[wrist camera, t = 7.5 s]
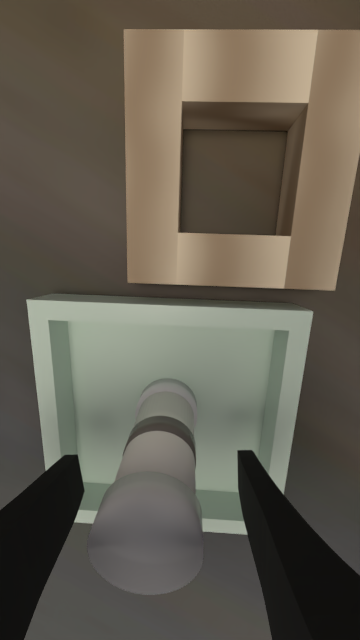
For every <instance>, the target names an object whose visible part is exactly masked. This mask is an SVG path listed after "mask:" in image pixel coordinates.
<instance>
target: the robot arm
mask: <svg viewBox="0 0 360 640" xmlns="http://www.w3.org/2000/svg"><path fill="white" fill-rule="evenodd" d="M237 459H238V491H239V497H240V503H241V509H242V515H243V519H244V523H245V527H246V531H247V534H248V538H249V542H250V546H251V549H252V553H253V557H254V561H255V565H256V568H257V572H258V576H259V580H260V583H261V587H262V592H263V596H264V600H265V605H266V610H267V615H268V620H269V625H270V630H271V635H272V640H360V576H359V575H358V574H357V573H356V572H355V571H354V570H353V569H352V568H351V567H350V566H349V565H348V564H346V563H345V562H344V561H343V560H342V559H341V558H340V557H339V556H338V555H337V554H336V553H335V552H334V551H333V550H332V549H331V548H330V547H329V546H328V545H327V544H326V543H325V542H324V541H323V539H322V538H321V537H320V536H319V535H318V534H317V533H316V532H315V531H314V530H313V529H312V528H311V527H310V525H309V524H308V523H307V522H306V521H305V520H304V519H303V518H302V516H301V515H300V514H299V513H298V512H297V510H296V509H295V508H294V507H293V506H292V505H291V503H290V502H289V501H288V500H287V498H286V497H285V496H284V494H283V493H282V492H281V491H280V489H279V488H278V487H277V485H276V484H275V483H274V481H273V480H272V479H271V477H270V476H269V474H268V473H267V471H266V470H265V469H264V467H263V466H262V464H261V463H260V461H259V460H258V458H257V456H256V455H255V453H254V452H253V451H252V450H237ZM84 492H85V490H84V485H83V480H82V474H81V469H80V464H79V459H78V454H73V455H64V456H63V457H61V458H60V459H59V460H58V461H57V462H56V463H54V464H53V465H52V466H51V467H50V468H49V469H48V470H47V471H45V472H44V473H43V474H42V475H41V476H40V477H39V478H38V479H37V480H35V481H34V482H33V483H32V484H31V485H30V486H29V487H27V488H26V489H25V490H24V491H23V492H22V493H21V494H19V495H18V496H17V497H16V498H15V499H13V500H12V501H11V502H10V503H9V504H7V505H6V506H5V507H4V508H3V509H1V510H0V640H24V638H25V635H26V632H27V630H28V627H29V624H30V622H31V619H32V616H33V614H34V611H35V608H36V606H37V603H38V601H39V598H40V596H41V594H42V591H43V589H44V586H45V584H46V582H47V580H48V578H49V575H50V573H51V571H52V569H53V567H54V565H55V562H56V560H57V558H58V556H59V554H60V552H61V549H62V547H63V545H64V543H65V541H66V538H67V536H68V534H69V532H70V530H71V527H72V525H73V523H74V521H75V518H76V516H77V513H78V510H79V507H80V504H81V501H82V498H83V495H84Z"/></svg>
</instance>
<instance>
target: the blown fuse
mask: <svg viewBox="0 0 360 640" xmlns="http://www.w3.org/2000/svg"><path fill="white" fill-rule="evenodd" d="M135 418H136V420H135V423H134V426H133V429H132V430H131V432H130V435H129V437H128V440H127V443H126V446H125V449H124V452H123V458H122V461H121V464H120V467H119V469H118V472H117V475H116V478H115V481H114V483H113V484H111V486H110V487H109V488H108V489H107V490H106V492H105V494H104V496H103V498H102V501H101V504H100V506H99V509H98V512H97V514H96V517H95V520H94V522H93V525H92V528H91V531H90V533H89V536H88V540H87V552H88V556H89V559H90V561H91V564H92V565H93V567H94V568H95V570H96V571H97V572H98V573H99V574H100V575H101V576H102V577H103V578H104V579H105V580H107V581H108V582H109V583H111V584H113V585H114V586H116V587H118V588H120V589H123V590H126V591H128V592H132V593H137V594H145V595H158V594H165V593H169V592H172V591H175V590H178V589H180V588H182V587H184V586H185V585H187V584H188V583H189V582H191V581H192V580H193V579H194V578H195V577H196V575H197V574H198V572H199V571H200V569H201V566H202V564H203V559H204V547H203V526H202V510H201V506H200V502H199V500H198V498H197V496H196V484H195V468H196V444H195V439H194V428H195V426H196V423H197V401H196V397H195V395H194V393H193V391H192V390H191V389H190V388H189V387H188V386H187V385H186V384H185V383H183V382H181V381H179V380H176V379H170V378H164V379H158V380H156V381H153V382H152V383H150V384H149V385H148V386H146V388H145V389H144V390H143V392H142V394H141V396H140V399H139V401H138V404H137V407H136V411H135Z"/></svg>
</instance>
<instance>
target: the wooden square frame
mask: <svg viewBox="0 0 360 640" xmlns="http://www.w3.org/2000/svg"><path fill="white" fill-rule="evenodd" d="M124 78H125V143H126V207H127V272H128V283H149V284H175V285H202V286H228V287H255V288H281V289H308V290H334V291H335V287H336V282H337V276H338V270H339V265H340V259H341V254H342V248H343V243H344V237H345V232H346V226H347V220H348V215H349V209H350V204H351V198H352V193H353V187H354V182H355V176H356V170H357V165H358V159H359V154H360V30H182V29H124ZM183 129H201V130H262V131H288V134H287V142H286V150H285V159H284V167H283V176H282V184H281V193H280V201H279V210H278V218H277V227H276V235H275V236H267V235H235V234H202V233H180V219H181V188H182V157H183Z"/></svg>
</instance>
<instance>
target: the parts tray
mask: <svg viewBox="0 0 360 640" xmlns="http://www.w3.org/2000/svg"><path fill="white" fill-rule="evenodd" d="M27 307H28V316H29V325H30V334H31V343H32V352H33V361H34V370H35V379H36V388H37V397H38V406H39V414H40V423H41V432H42V441H43V450H44V459H45V468H46V471H47V470H48V469H49V468H50V467H51V466H52V465H53V464H54V463H56V462H57V461H58V460H59V459H60V458H61V457H63V456H64V455H73V454H78V459H79V464H80V469H81V474H82V480H83V485H84V490H85V492H84V495H83V498H82V501H81V504H80V507H79V510H78V513H77V516H76V518H75V521H74V522H79V523H93V522H94V520H95V517H96V514H97V512H98V509H99V506H100V504H101V501H102V498H103V496H104V494H105V492H106V490H107V489H108V488H109V487H110V486H111V484H113V483H114V481H115V478H116V475H117V472H118V469H119V467H120V464H121V461H122V458H123V452H124V449H125V446H126V443H127V440H128V437H129V435H130V432H131V430H132V429H133V426H134V423H135V420H136V418H135V411H136V407H137V404H138V401H139V399H140V396H141V394H142V392H143V390H144V389H145V388H146V386H148V385H149V384H150V383H152V382H153V381H156V380H158V379H164V378H170V379H176V380H179V381H181V382H183V383H185V384H186V385H187V386H188V387H189V388H190V389H191V390H192V391H193V393H194V395H195V397H196V401H197V423H196V426H195V428H194V439H195V444H196V468H195V484H196V496H197V498H198V500H199V502H200V506H201V510H202V526H203V531H205V532H219V533H233V534H247V531H246V527H245V523H244V519H243V515H242V509H241V503H240V497H239V491H238V459H237V450H252V451H253V452H254V453H255V455H256V456H257V458H258V460H259V461H260V463H261V464H262V466H263V467H264V469H265V470H266V471H267V473H268V474H269V476H270V477H271V479H272V480H273V481H274V483H275V484H276V485H277V487H278V488H279V489H280V491H281V492H282V493H283V494H284V489H285V482H286V476H287V470H288V464H289V458H290V452H291V446H292V439H293V433H294V427H295V421H296V415H297V409H298V403H299V396H300V390H301V384H302V378H303V372H304V366H305V360H306V353H307V347H308V341H309V335H310V329H311V323H312V317H313V311H311V310H309V309H306V308H304V307H301V306H299V305H296V304H294V303H281V302H256V301H231V300H206V299H181V298H155V297H130V296H105V295H80V294H55V293H54V294H50V295H45V296H41V297H36V298H32V299H28V300H27ZM247 535H248V534H247Z"/></svg>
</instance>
